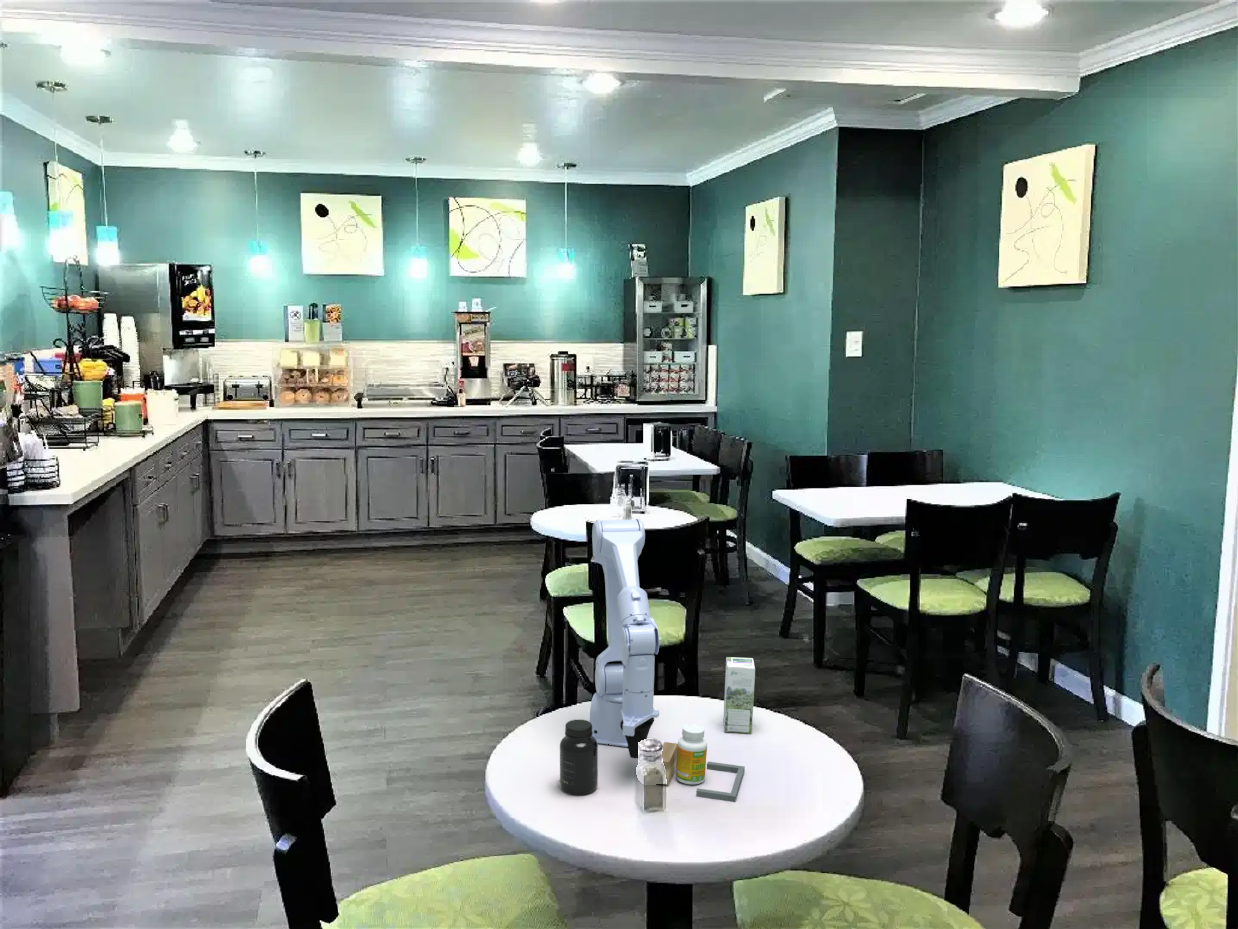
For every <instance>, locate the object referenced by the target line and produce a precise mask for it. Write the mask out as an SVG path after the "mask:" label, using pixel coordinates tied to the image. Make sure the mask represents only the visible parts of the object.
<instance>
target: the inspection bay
mask: <svg viewBox="0 0 1238 929" xmlns="http://www.w3.org/2000/svg"><path fill="white" fill-rule="evenodd" d="M745 768H746V766H744V765H743V766H742V765H737V764H730V763H729V764H728V763H722V762H721V763H720V762H714V761H706V769H707V770H713V771H721V772H729V773H734V774H736V775H735V778H734V782H733V784H732V788H731V792H727V791H726V792H725V791H718V790H711V789H705V788H697V789H696V792H695V794H696V795H695V796H696V797H699V798H707V799H715V800H721V801H727V802H733V803H735V802H736V801H737V798H738V795H739V791H740V788H741V786H742V781H743V777H744V774H745Z"/></svg>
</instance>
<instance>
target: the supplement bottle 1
mask: <svg viewBox="0 0 1238 929" xmlns="http://www.w3.org/2000/svg"><path fill="white" fill-rule="evenodd" d="M564 727H565V728H564V729H565V730H564V735H565V736H564V737H563V738H562V739H561V740H560V743H559V786H560V788H561V790H562V791H563V792H564V793H566V794H569V795H572V796H585V795H588V794H590V793H593V792H595V791H596V789H597V788H598V785H599V784H598V782H599V781H598V777H599V776H598V775H599V774H598V773H599V770H598V768H599V767H598V766H599V761H598V760H599V757H598V756H599V753H598V752H599V751H598V748H599V745H598V744H599V743H597V741H596V739H595V738H594V737H593V736H592V734H593V732H592V724H591V723H590V720H586V719H571V720H569V721H567V722H566V724H565V726H564Z"/></svg>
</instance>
